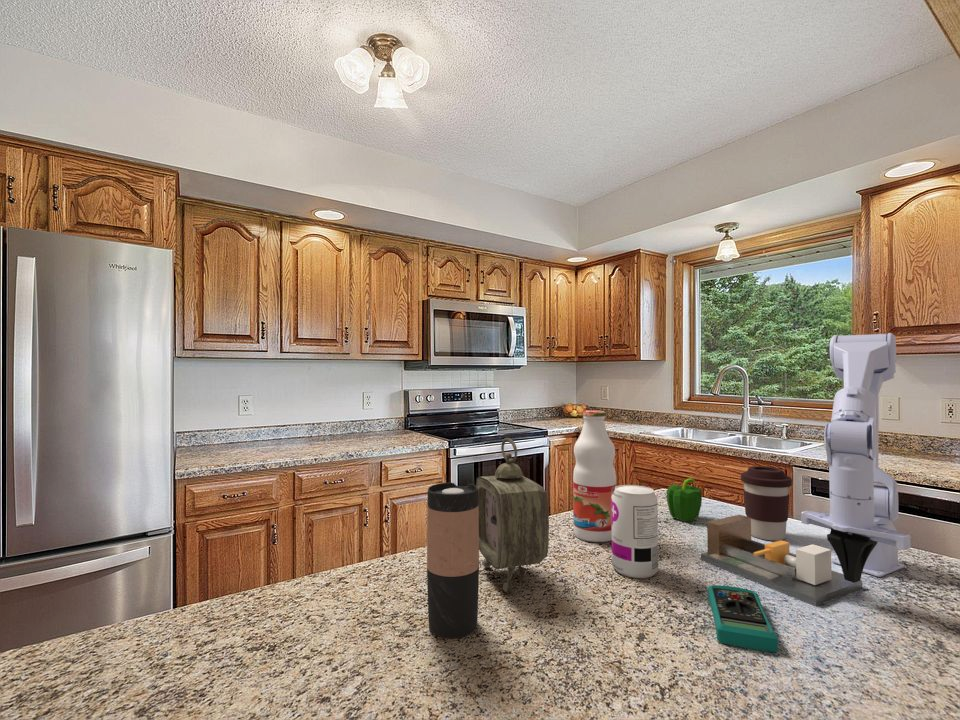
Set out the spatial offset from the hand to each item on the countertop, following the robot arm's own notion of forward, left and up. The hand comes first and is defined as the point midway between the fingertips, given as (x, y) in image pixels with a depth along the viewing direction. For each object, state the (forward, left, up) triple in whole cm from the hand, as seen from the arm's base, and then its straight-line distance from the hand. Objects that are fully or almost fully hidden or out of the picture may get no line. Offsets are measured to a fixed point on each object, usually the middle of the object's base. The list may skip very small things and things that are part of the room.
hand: (852, 580), depth 78 cm
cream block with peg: (0, -7, -2) cm, 8 cm away
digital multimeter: (+22, -4, -4) cm, 23 cm away
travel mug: (+60, -23, -4) cm, 65 cm away
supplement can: (+22, -25, -4) cm, 34 cm away
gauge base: (0, -12, -3) cm, 13 cm away
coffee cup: (-18, -25, -4) cm, 31 cm away
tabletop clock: (+44, -33, -4) cm, 55 cm away
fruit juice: (+16, -43, -4) cm, 46 cm away
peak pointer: (+2, -12, -2) cm, 12 cm away
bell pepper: (-12, -42, -4) cm, 44 cm away
